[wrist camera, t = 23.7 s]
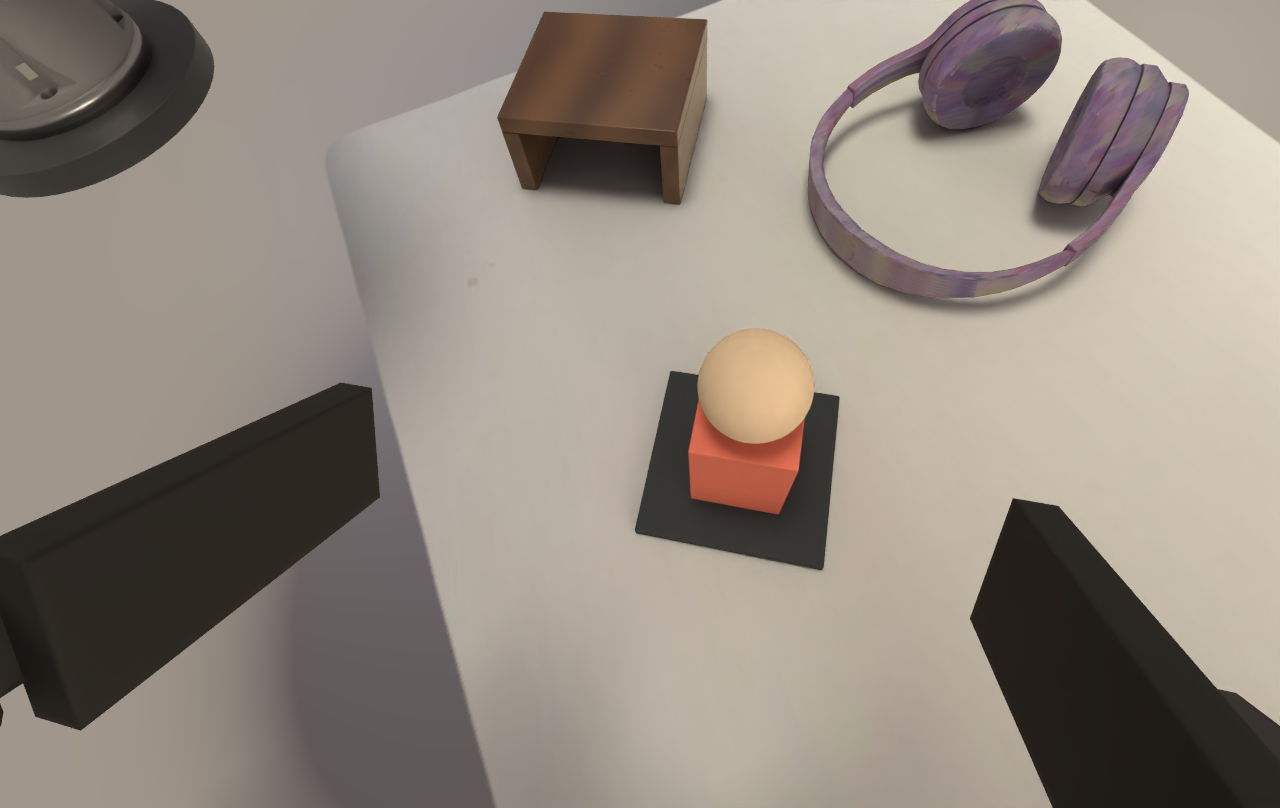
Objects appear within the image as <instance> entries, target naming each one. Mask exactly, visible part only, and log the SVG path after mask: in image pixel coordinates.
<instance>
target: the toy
mask: <svg viewBox="0 0 1280 808" xmlns="http://www.w3.org/2000/svg"><path fill="white" fill-rule="evenodd" d="M697 386H698V396H699V400H698V405H697V410H696V416H695V421H694V426H693V431H692V436H691V441H690V446H689V451H688V454H689V474H690V493H691V498H693V499H698V500H703V501H709V502H714V503H719V504H725V505H730V506H735V507H741V508H746V509H751V510H757V511H762V512H767V513H773V514H779V513H780V510H781V508H782V506H783V504H784V502H785V499H786V497H787V495H788V493H789V491H790V488H791V486H792V484H793V482H794V479H795V477H796V475H797V473H798V471H799V462H800V454H801V445H802V437H803V428H804V420H805V416H806V414H807V413H808V411H809V409H810V406H811V403H812V400H813V395H814V377H813V372H812V368H811V366H810V363H809V361H808V359H807V357H806V356H805V354H804V353H803V352H802V350H801V349H800V348H799V347H798V346H797V345H796V344H795V343H794V342H793V341H791V340H790V339H789V338H787V337H785V336H784V335H781V334H779V333H777V332H774V331H770V330H765V329H748V330H742V331H739V332H736V333H733V334H731V335H729V336H727V337H725V338H724V339H722V340H721V341H720V342H718V343H717V344H716V345H715V346H714V347H713V348H712V349H711V351H710V352H708V354H707V356H706V358H705V359H704V361H703V364H702V366H701V368H700V372H699V376H698V384H697Z"/></svg>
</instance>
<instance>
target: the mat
mask: <svg viewBox="0 0 1280 808" xmlns="http://www.w3.org/2000/svg"><path fill="white" fill-rule="evenodd" d="M698 376H699V375H695V374H689V373H682V372H675V371H671V372H670V376H669V380H668V385H667V389H666V394H665V398H664V403H663V407H662V411H661V416H660V420H659V425H658V429H657V434H656V438H655V443H654V447H653V452H652V456H651V461H650V465H649V470H648V474H647V478H646V483H645V487H644V492H643V496H642V501H641V505H640V510H639V514H638V519H637V523H636V528H635V532H636V533H640V534H645V535H650V536H655V537H660V538H665V539H670V540H675V541H680V542H685V543H690V544H695V545H700V546H705V547H710V548H715V549H720V550H725V551H730V552H735V553H740V554H745V555H750V556H755V557H760V558H765V559H770V560H775V561H780V562H785V563H790V564H795V565H800V566H805V567H810V568H815V569H820V570H822V569H823V568H824V557H825V547H826V536H827V525H828V515H829V504H830V493H831V482H832V472H833V461H834V450H835V440H836V429H837V418H838V407H839V396H834V395H828V394H821V393H815V392H814V395H813V400H812V403H811V406H810V409H809V411H808V413H807V414H806V416H805V420H804V428H803V437H802V445H801V454H800V462H799V471H798V473H797V475H796V477H795V479H794V482H793V484H792V486H791V488H790V491H789V493H788V495H787V497H786V499H785V502H784V504H783V506H782V508H781V510H780V513H779V514H773V513H767V512H762V511H757V510H751V509H746V508H741V507H735V506H730V505H725V504H719V503H714V502H709V501H703V500H698V499H693V498H691V493H690V474H689V454H688V451H689V446H690V441H691V436H692V431H693V426H694V421H695V416H696V410H697V405H698V400H699V396H698V386H697V384H698Z"/></svg>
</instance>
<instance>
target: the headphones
mask: <svg viewBox="0 0 1280 808" xmlns="http://www.w3.org/2000/svg"><path fill="white" fill-rule="evenodd" d="M1061 43H1062V36H1061V31H1060V28H1059V25H1058V24H1057V22H1056V20H1055V19H1054V18H1053V17H1052V16H1051V15H1050V14H1048V13H1047V11H1046V10H1045V8H1044V6H1043V5H1042V4H1041V3H1040V2H1039V1H1037V0H971V1H969V2H967V3H965V4H964V5H963V6H961V7H960V8H959V9H957V10H956V11H955V12H953V13H952V14H951V15H950V16H949V17H948V18H947V19H946V20H945V21H944V22H943V23H942V24H941V25H940V26H939V27H938V29H937V30H936V31H935V32H934V33H933V34H932V35H930V36H929V37H928V38H927V39H925V40H924V41H922V42H921V43H919V44H918V45H916V46H914V47H912V48H910V49H908V50H906V51H904V52H901V53H899V54H897V55H895V56H893V57H891V58H889V59H887V60H885V61H883V62H881V63H880V64H878V65H876V66H875V67H873V68H872V69H870V70H868V71H867V72H866V73H864V74H863V75H862V76H861V77H859V78H858V79H857V80H855V81H854V82H853V83H851V84H850V85H849V86H848V88H847V90H846V91H845V92H844V93H843V94H842V95H841V96H840V97H839V98H838V99H837V100H836V101H835V102H834V103H833V104H832V105H831V107H830V108H829V109H828V110H827V112H826V113H825V114H824V115H823V117H822V119H821V120H820V122H819V124H818V126H817V128H816V131H815V133H814V136H813V138H812V143H811V148H810V161H809V178H808V194H809V201H810V206H811V211H812V214H813V217H814V219H815V222H816V224H817V226H818V228H819V231H820V233H821V235H822V236H823V237H824V239H825V240H826V242H827V243H828V244H829V246H830V247H831V249H832V250H833V251H834V252H835V253H836V254H837V255H838V256H839V257H840V258H841V259H843V260H844V261H845V262H846V263H847V264H848V265H849V266H850V267H851V268H853V269H854V270H855V271H856V272H858V273H860V274H861V275H863V276H865V277H867V278H868V279H870V280H872V281H874V282H875V283H877V284H880V285H883V286H886V287H889V288H892V289H895V290H898V291H901V292H904V293H909V294H915V295H920V296H926V297H942V298H967V297H978V296H984V295H990V294H996V293H1001V292H1004V291H1008V290H1012V289H1015V288H1017V287H1020V286H1022V285H1025V284H1027V283H1030V282H1032V281H1035V280H1037V279H1039V278H1041V277H1043V276H1045V275H1047V274H1049V273H1051V272H1053V271H1055V270H1057V269H1059V268H1061V267H1063V266H1067V265H1068V264H1069V263H1071V262H1072V261H1073V260H1075V259H1076V258H1077V257H1079V256H1080V255H1081V254H1083V253H1084V252H1085V251H1086V250H1087V249H1088V248H1089V247H1091V246H1092V245H1093V244H1094V243H1095V242H1096V241H1097V240H1098V239H1099V238H1100V237H1101V236H1102V235H1103V233H1104V232H1105V231H1106V230H1107V229H1108V227H1109V226H1110V225H1111V224H1112V223H1113V221H1114V220H1115V219H1116V218H1117V216H1118V215H1119V214H1120V213H1121V211H1122V210H1123V209H1124V207H1125V206H1126V204H1127V203H1128V201H1129V199H1130V198H1131V196H1132V195H1133V193H1134V192H1135V191H1136V190H1137V189H1138V187H1139V186H1140V185H1141V184H1142V183H1143V181H1144V180H1145V179H1146V178H1147V176H1148V175H1149V174H1150V172H1151V171H1152V169H1153V168H1154V166H1155V165H1156V163H1157V162H1158V160H1159V159H1160V157H1161V155H1162V154H1163V152H1164V150H1165V148H1166V146H1167V145H1168V143H1169V141H1170V139H1171V137H1172V135H1173V133H1174V131H1175V129H1176V127H1177V125H1178V123H1179V121H1180V119H1181V117H1182V115H1183V112H1184V109H1185V106H1186V103H1187V100H1188V96H1189V91H1188V89H1187V86H1186V85H1185V84H1180V83H1173V82H1169V83H1168V82H1167V80H1166V79H1165V77H1164V75H1163V74H1162V72H1161V71H1160V69H1159V67H1158V66H1155V65H1148V64H1142V65H1139V64H1138V63H1137V62H1135V61H1134V60H1131V59H1129V58H1113V59H1109V60H1106V61H1104V62H1103V63H1101V65H1100V66H1099V67H1098V68H1097V70H1096V71H1095V72H1094V74H1093V76H1092V77H1091V79H1090V80H1089V82H1088V84H1087V86H1086V87H1085V89H1084V91H1083V92H1082V94H1081V96H1080V98H1079V100H1078V102H1077V104H1076V106H1075V107H1074V109H1073V111H1072V113H1071V115H1070V117H1069V119H1068V121H1067V123H1066V125H1065V127H1064V130H1063V132H1062V134H1061V136H1060V138H1059V140H1058V142H1057V145H1056V147H1055V149H1054V151H1053V154H1052V156H1051V158H1050V161H1049V163H1048V165H1047V168H1046V171H1045V173H1044V176H1043V178H1042V182H1041V185H1040V190H1039V193H1040V195H1041V196H1042V197H1043V198H1044V199H1045V200H1047V201H1049V202H1052V203H1058V204H1062V203H1069V202H1070V203H1071V204H1073V205H1078V206H1082V207H1084V206H1087V205H1089V204H1091V203H1093V202H1095V201H1097V200H1099V199H1101V198H1103V197H1105V196H1107V195H1111V196H1112V199H1111V201H1110V202H1109V204H1108V206H1107V208H1106V209H1105V211H1104V212H1103V214H1102V215H1101V217H1100V218H1099V219H1098V220H1097V221H1096V223H1095V224H1094V225H1093V226H1091V227H1090V228H1089V229H1088V230H1087V231H1086V232H1085V233H1083V234H1082V235H1080V236H1079V237H1078V238H1076V239H1075V240H1074V241H1072V242H1071V243H1069V244H1068V245H1067V246H1066V248H1065V249H1064V250H1063V251H1062V252H1060V253H1057V254H1055V255H1052V256H1050V257H1047V258H1045V259H1042V260H1040V261H1038V262H1035V263H1031V264H1028V265H1025V266H1021V267H1018V268H1014V269H1008V270H1002V271H995V272H962V271H955V270H947V269H941V268H938V267H934V266H930V265H926V264H923V263H920V262H918V261H916V260H913V259H911V258H908V257H906V256H903V255H901V254H899V253H897V252H895V251H894V250H892V249H890V248H889V247H887V246H885V245H884V244H882V243H881V242H879V241H878V240H876V239H875V238H874V237H872V236H871V235H869V234H868V233H866V232H865V231H864V230H861V228H860V227H859V226H858V225H857V224H856V223H855V222H854V221H853V220H852V219H851V218H850V217H849V216H848V214H847V213H846V212H845V211H844V210H843V209H842V208H841V206H840V205H839V204H838V203H837V201H836V200H835V198H834V196H833V194H832V192H831V190H830V189H829V186H828V183H827V180H826V178H825V172H824V166H823V161H824V151H825V147H826V144H827V141H828V138H829V136H830V134H831V132H832V130H833V128H834V127H835V125H836V124H837V122H838V121H839V119H840V118H841V116H842V115H843V114H844V113H845V111H846V110H847V109H848V108H849V106H850V107H852V108H854V107H855V106H856V105H857V104H859V103H860V102H861V101H862V100H864V99H865V98H867V97H868V96H869V95H871V94H872V93H874V92H876V91H878V90H879V89H881V88H883V87H885V86H886V85H888V84H890V83H892V82H894V81H897V80H899V79H901V78H903V77H906V76H908V75H911V74H915V73H919V80H918V82H919V89H920V92H921V94H922V98H923V105H924V108H925V111H926V112H927V114H928V116H929V117H930V118H931V119H932V120H933V121H934V122H935V123H937V124H939V125H941V126H943V127H945V128H949V129H968V128H973V127H977V126H980V125H983V124H986V123H989V122H991V121H994V120H996V119H998V118H1000V117H1002V116H1004V115H1005V114H1007V113H1009V112H1010V111H1012V110H1014V109H1015V108H1017V107H1018V106H1019V105H1021V104H1022V103H1023V102H1025V101H1026V100H1027V99H1028V98H1030V97H1031V96H1032V95H1033V94H1034V93H1035V92H1036V91H1037V90H1038V89H1039V88H1040V87H1041V86H1042V85H1043V84H1044V82H1045V81H1046V80H1047V79H1048V77H1049V76H1050V74H1051V73H1052V71H1053V70H1054V68H1055V66H1056V64H1057V62H1058V59H1059V56H1060V52H1061Z"/></svg>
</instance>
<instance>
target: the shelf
mask: <svg viewBox="0 0 1280 808" xmlns="http://www.w3.org/2000/svg"><path fill="white" fill-rule="evenodd" d="M706 98H707V20H706V19H685V18H664V17H663V18H662V17H643V16H621V15H600V14H580V13H557V12H544V13H543V15H542V17H541V20H540V22H539V24H538V26H537V29H536V31H535V33H534V35H533V38H532V40H531V42H530V44H529V47H528V49H527V51H526V54H525V56H524V58H523V60H522V62H521V65H520V67H519V69H518V72H517V74H516V76H515V78H514V81H513V83H512V85H511V87H510V90H509V92H508V94H507V96H506V99H505V101H504V103H503V105H502V108H501V110H500V112H499V115H498V117H497V118H498V121H499V124H500V127H501V130H502V132H503V136H504V139H505V141H506V144H507V147H508V150H509V153H510V155H511V158H512V161H513V164H514V167H515V169H516V172H517V175H518V178H519V181H520V183H521V186H522V188H526V189H537V188H538V185H539V183H540V180H541V177H542V175H543V172H544V169H545V167H546V164H547V162H548V159H549V156H550V154H551V151H552V148H553V146H554V143H555V140H556V138H557V137H566V138H578V139H590V140H601V141H613V142H625V143H637V144H648V145H660V156H661V169H662V183H663V196H664V202H665V203H674V204H680V203H681V199H682V195H683V191H684V187H685V183H686V179H687V175H688V171H689V167H690V162H691V158H692V154H693V150H694V146H695V142H696V138H697V134H698V130H699V126H700V122H701V118H702V114H703V110H704V106H705V102H706Z"/></svg>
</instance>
